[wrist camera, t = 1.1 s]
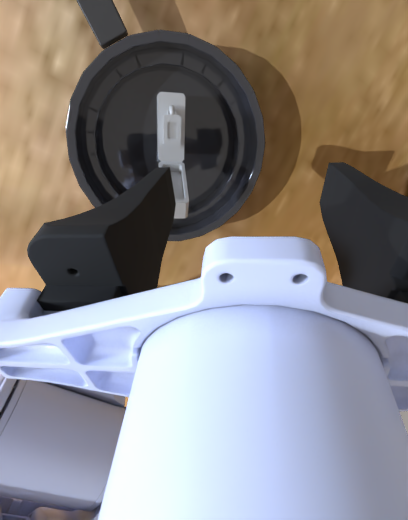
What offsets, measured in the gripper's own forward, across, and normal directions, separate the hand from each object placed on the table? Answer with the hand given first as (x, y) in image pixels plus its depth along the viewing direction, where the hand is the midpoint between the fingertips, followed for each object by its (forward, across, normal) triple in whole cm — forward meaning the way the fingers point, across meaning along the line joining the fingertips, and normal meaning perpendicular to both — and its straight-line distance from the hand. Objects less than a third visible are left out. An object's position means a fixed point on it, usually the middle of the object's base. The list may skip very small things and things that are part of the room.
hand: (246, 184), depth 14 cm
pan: (+11, +6, +2) cm, 12 cm away
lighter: (+11, +6, +2) cm, 13 cm away
